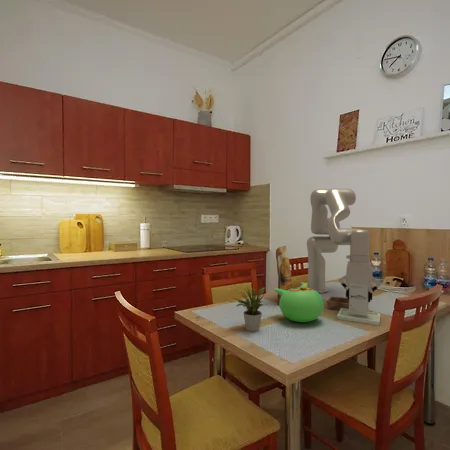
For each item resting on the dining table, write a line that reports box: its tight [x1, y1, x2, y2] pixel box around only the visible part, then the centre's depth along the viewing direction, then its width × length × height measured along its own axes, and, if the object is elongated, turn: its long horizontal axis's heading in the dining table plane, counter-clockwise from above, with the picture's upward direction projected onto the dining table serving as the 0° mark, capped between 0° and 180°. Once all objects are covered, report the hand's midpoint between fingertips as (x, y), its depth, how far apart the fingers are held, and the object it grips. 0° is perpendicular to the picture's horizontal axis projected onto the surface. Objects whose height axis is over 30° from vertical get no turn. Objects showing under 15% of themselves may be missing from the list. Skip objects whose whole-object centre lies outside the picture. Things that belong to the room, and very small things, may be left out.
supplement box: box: [349, 284, 370, 316], centre depth 129 cm, size 7×7×13 cm
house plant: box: [232, 286, 268, 332], centre depth 117 cm, size 14×14×16 cm
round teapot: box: [273, 282, 325, 323], centre depth 126 cm, size 18×17×15 cm
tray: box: [336, 308, 381, 326], centre depth 129 cm, size 16×12×2 cm
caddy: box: [326, 295, 349, 311], centre depth 144 cm, size 10×10×4 cm
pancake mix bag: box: [275, 245, 293, 306], centre depth 153 cm, size 7×19×28 cm, turn 148°
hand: (358, 299), depth 129 cm, fingers open, 7 cm apart
